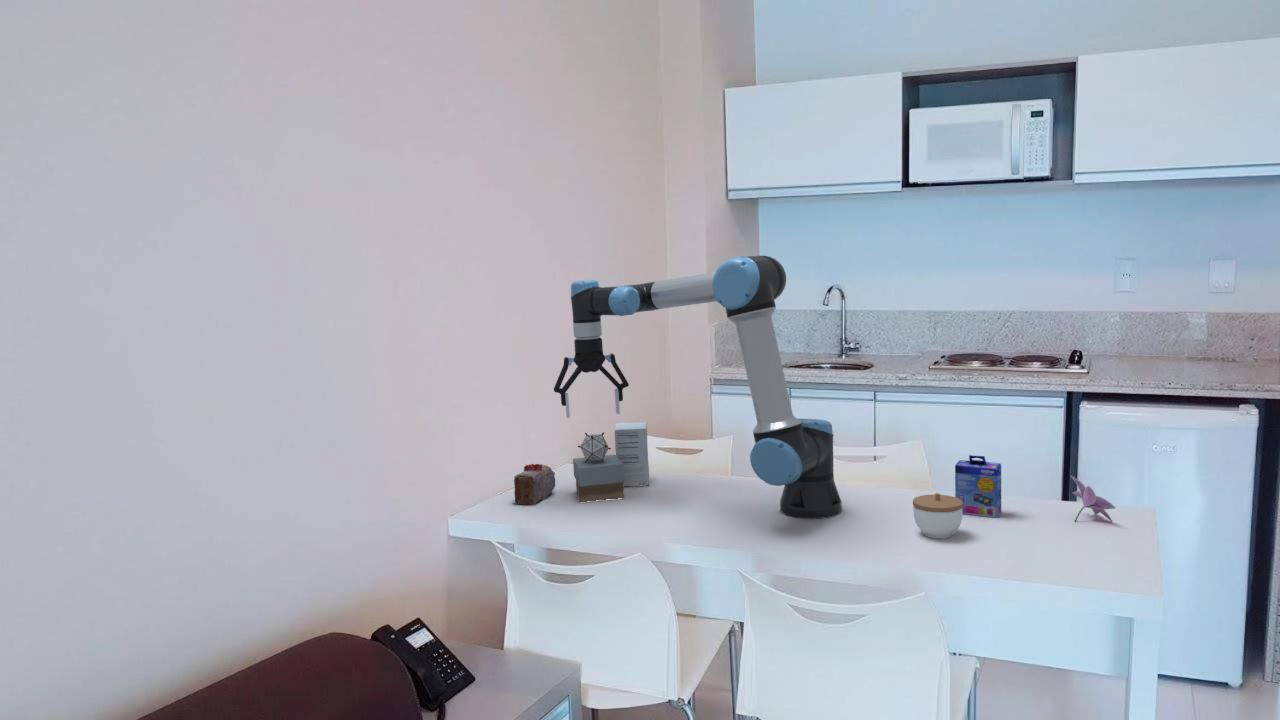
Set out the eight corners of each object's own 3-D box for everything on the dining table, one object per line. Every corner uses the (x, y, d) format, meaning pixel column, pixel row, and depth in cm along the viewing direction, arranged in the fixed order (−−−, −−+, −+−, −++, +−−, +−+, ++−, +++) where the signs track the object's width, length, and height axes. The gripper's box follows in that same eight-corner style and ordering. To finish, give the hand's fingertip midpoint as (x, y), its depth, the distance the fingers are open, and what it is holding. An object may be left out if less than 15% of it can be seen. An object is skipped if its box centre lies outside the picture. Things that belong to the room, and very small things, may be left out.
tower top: (624, 482, 246) (623, 464, 246) (580, 486, 244) (579, 468, 243) (615, 471, 258) (615, 454, 257) (573, 475, 255) (572, 458, 255)
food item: (531, 491, 259) (529, 457, 258) (558, 492, 257) (556, 458, 255) (512, 505, 246) (509, 469, 245) (539, 506, 244) (537, 470, 242)
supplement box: (618, 479, 268) (615, 422, 266) (649, 477, 268) (646, 421, 265) (617, 487, 258) (613, 429, 256) (649, 486, 258) (646, 427, 256)
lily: (1114, 535, 201) (1130, 495, 202) (1061, 512, 205) (1077, 473, 205) (1099, 535, 213) (1114, 497, 214) (1049, 513, 216) (1064, 476, 217)
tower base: (624, 500, 246) (623, 482, 245) (579, 504, 245) (578, 486, 244) (618, 489, 258) (618, 472, 257) (576, 493, 256) (575, 475, 256)
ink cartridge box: (954, 514, 219) (953, 455, 217) (959, 507, 224) (958, 450, 222) (997, 518, 214) (997, 458, 212) (1001, 512, 219) (1001, 453, 217)
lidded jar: (909, 527, 211) (908, 487, 210) (957, 526, 209) (956, 486, 208) (918, 542, 200) (917, 500, 199) (968, 541, 199) (968, 499, 198)
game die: (601, 473, 252) (620, 442, 253) (595, 469, 243) (615, 437, 245) (574, 457, 254) (593, 426, 255) (568, 452, 245) (587, 421, 247)
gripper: (632, 333, 250) (636, 409, 253) (541, 339, 247) (546, 416, 250) (635, 335, 243) (640, 413, 245) (541, 342, 240) (547, 421, 242)
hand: (593, 415), depth 248 cm, fingers open, 13 cm apart
